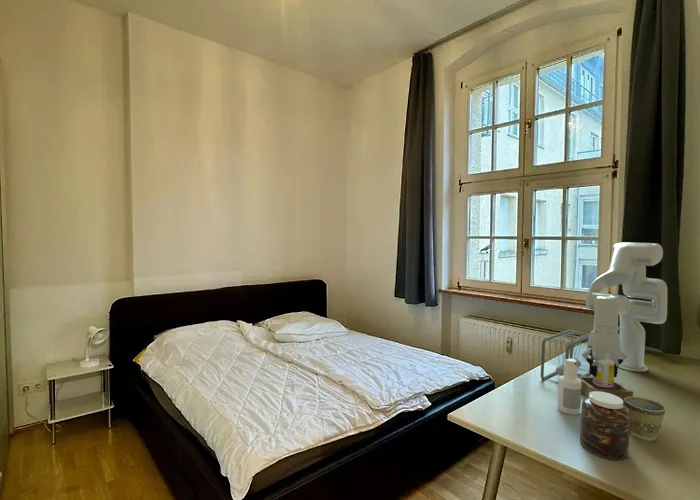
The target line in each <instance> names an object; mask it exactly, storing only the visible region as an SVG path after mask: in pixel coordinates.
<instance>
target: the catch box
mask: <svg viewBox="0 0 700 500" xmlns="http://www.w3.org/2000/svg"><path fill="white" fill-rule="evenodd" d="M577 378H578V379H580V380H581V396H583V397H584V398H586V397H589V393H590V392H593V391H600V392H606V393H610V394H613V395H615V396H618V397H619V398H621V399H622V400H623V405H624V406H625V404H624V398H626V397H631V396H633V397H634V391H633V390H632V389H630V388H628V387H627V386H625V385H623V384H622V383H620V382H618V381H616V380H615V379H614V386H613V387H611V388H604V387H600V386H597V385H595V384H594V383H593V376H587V377H585V376H583V375H581V376H579V375H577Z"/></svg>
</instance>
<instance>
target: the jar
mask: <svg viewBox="0 0 700 500" xmlns="http://www.w3.org/2000/svg"><path fill="white" fill-rule="evenodd" d="M580 413H581V414H580V430H579V431H580V432H579V433H580V434H579V436H580V437H579V442H580V445H581V446H582V448H583V449H585V450H586V451H588V452H590V453H591V454H593V455H595V456H597V457H600V458H603V459H607V460H611V461H624V460H627V458H628V457H629V450H630V449H629V448H630V447H629V446H630V445H629V444H630V412H629V409H628V408H627V407H626V406H625V405H623V400H622V399H621V398H619V397H618V396H615V395H613V394H610V393H606V392H600V391H593V392H590V393H589V397H584V398H583V399H582V402H581V409H580Z"/></svg>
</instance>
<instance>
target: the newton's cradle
mask: <svg viewBox="0 0 700 500" xmlns="http://www.w3.org/2000/svg"><path fill="white" fill-rule="evenodd" d="M575 333H576V335H578V336H575ZM577 333H580V336H579V334H577ZM581 334H584V335H581ZM569 335H570V337H567V336H569ZM574 336H575V337H576V338H575V337H574ZM589 336H590V333H587V332H583V331H577V330H573V329H572V328H571V329H567V330H565V331H561V332H559V333H556V334H553V335H550V336H548V337H545V338H544V339H542V342H541V356H540V357H541V359H540V379H541V380H542V381H549V382H551V383H555V384H558V385H559V381H555V380H551V379H550V378H551V377H553V376H555V375H558V376H559V377H560V376H563V375H564V365H565V359H569V358H570V359H574V360H576V361H577V364H576V365H577V370H582V371H585V372H586V373H584V374H583V375H582V376H585V377H590V376H591V374H590V372H589V369H584V368H580V367H581V365H582V362H581V361H580V360H579V359H578V358H579V355H580V350H581V349H579V350H578V346H579V344H580V347H579V348H581V347H582V343H583V342H584V341H586V340H589ZM563 337H564V338H563ZM566 337H567V340H566ZM562 338H563V339H562ZM569 338H570V339H569ZM555 340H556V341H555ZM557 340H559V341H560V342H559V341H557ZM547 341H548V342H552V343H555V344H560V346H561V348H563V345H565V353H564V352H563V350H561V352H562V353H561V354H562V355H563V356H562V359H563V361H562V365H561V362H560V359H558V362H559V364H560V365H559V366H557V367H556V368H555V371H553V372H551V373H549V374H547V375H545V376H544V374H545V373H544V372H545V349H546V342H547ZM562 341H566V342H564V343H563V342H562ZM575 345H576V350H575ZM556 348H557V350H559V347H558V345H556ZM577 350H578V353H577ZM573 354H574V357H573ZM576 354H577V357H576ZM557 357H560V354H559V352H557Z"/></svg>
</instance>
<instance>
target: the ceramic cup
mask: <svg viewBox="0 0 700 500" xmlns="http://www.w3.org/2000/svg"><path fill="white" fill-rule="evenodd" d="M624 404H625V405H624V406H626V407H627V408H628V409H629V412H630V432H629V434H631V436H633V437H635V438H637V439H639V440H644V441H650V442H651V441H655V440H658V436H659V433H660V429H661V426H662V422H663V420H664V417H665V413H666V407H665V405H663V404H662V403H660V402H659V401H655V400H653V399H650V398H646V397H641V396H634V395H633V396H631V397H626V398H624Z"/></svg>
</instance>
